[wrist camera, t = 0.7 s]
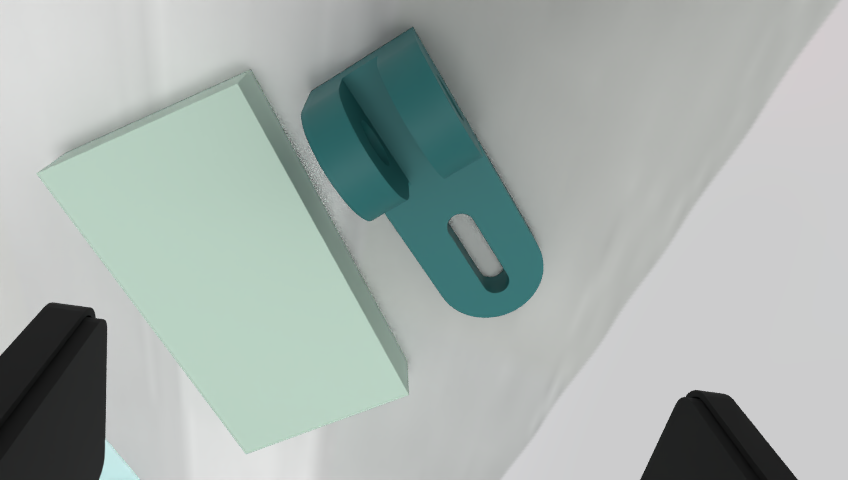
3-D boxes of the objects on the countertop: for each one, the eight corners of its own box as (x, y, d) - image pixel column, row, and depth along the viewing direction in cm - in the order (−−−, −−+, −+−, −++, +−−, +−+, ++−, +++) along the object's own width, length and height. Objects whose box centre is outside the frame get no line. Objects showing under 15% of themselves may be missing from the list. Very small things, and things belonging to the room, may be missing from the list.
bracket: (311, 90, 36) (293, 130, 29) (412, 26, 35) (419, 51, 28) (464, 315, 43) (479, 390, 36) (552, 268, 42) (586, 337, 35)
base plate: (252, 67, 35) (237, 83, 32) (407, 357, 45) (408, 394, 41) (70, 149, 37) (36, 173, 33) (256, 413, 46) (246, 454, 43)
